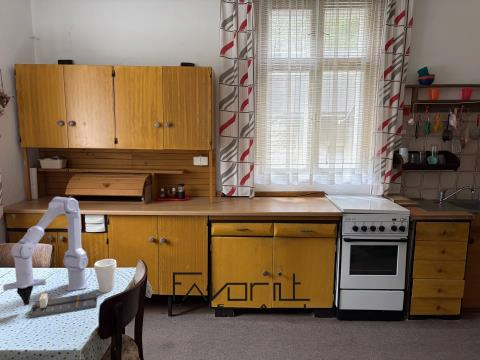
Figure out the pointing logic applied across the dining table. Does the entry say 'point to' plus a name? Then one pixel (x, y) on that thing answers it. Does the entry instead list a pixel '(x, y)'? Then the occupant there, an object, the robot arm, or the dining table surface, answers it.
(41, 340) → the dining table surface
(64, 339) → the dining table surface
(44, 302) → the block
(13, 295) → the dining table surface
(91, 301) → the console
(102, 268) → the foam cup
